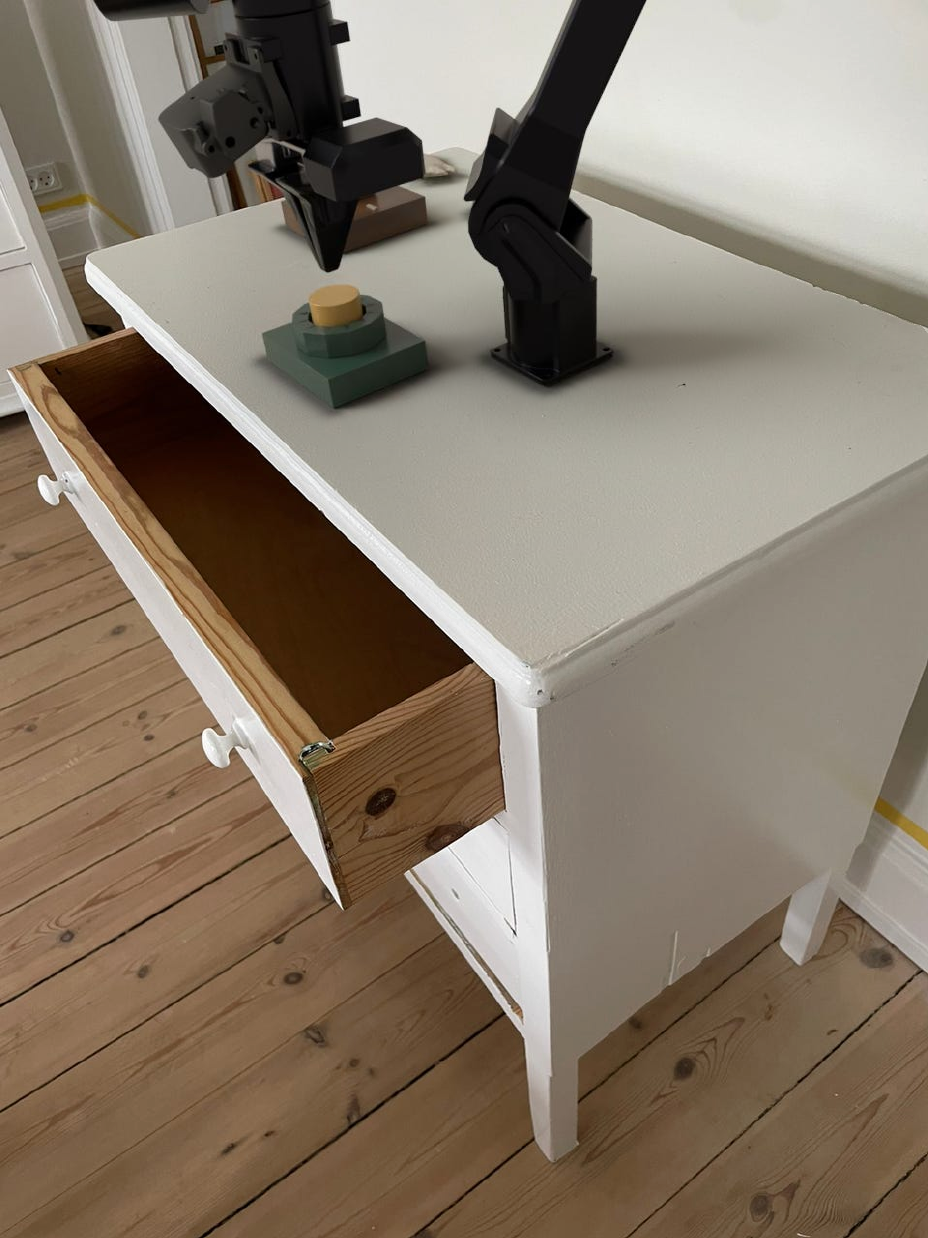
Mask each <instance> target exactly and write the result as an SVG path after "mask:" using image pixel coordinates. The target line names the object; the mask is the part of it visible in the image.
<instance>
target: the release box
mask: <svg viewBox="0 0 928 1238" xmlns="http://www.w3.org/2000/svg"><path fill="white" fill-rule="evenodd" d="M360 299H361V305H362V311H363V317H362V318H360V319H359V320H357V321H354V322H351V323H349V324H346V325H341V326H333V327H327V326H319V325H314V323H313V319H312V314H311V309H310V304H309V302H305V303H304V304H302V305H301V306H300V307H299V308H297V309H296V310H295V311H294V312H293V313H292V316H291V322H288V323H286V324H285V323H284V324H282V325H280V326H277V327H274V328H271V329H269V330H266V331H264V332H261V336H262V341H263V346H264V350H265V354H266V357H267V361H268V362H270V363H271V364H273V365H274V366H275V367H276V368H277V369H279V370H281V371H282V372H283V373H285V374H286V375H288V376H289V377H290V378H292V379H293V380H294V381H296V383H299V385H301V386H302V387H304V388H305V389H307V390H308V391H309V392H311V393H312V394H313V395H315V396H316V397H317V398H319V399H320V400H322V401H323V402H324V403H326V404H327V405H328V406H330V408H332V409H335V408H338V407H340V406H343V405H346V404H348V403H350V402H352V401H355V400H357V399H360V398H362V397H365V396H367V395H369V394H372V393H374V392H376V391H379V390H382V389H383V388H386V387H388V386H391V385H394V384H396V383H398V382H401V381H403V380H405V379H408V378H410V377H412V376H414V375H417V374H420V373H423V372H424V371H427V370H429V361H428V352H427V344H426V343H427V342H426V340H425V339H423V338H422V337H419V336H418V335H416V334H414V333H413V332H412V331H409V330H408V329H406V328H404V327H402V326H400V325H398V324H397V323H395V322H393V321H392V320H390V319H388V318H387V317H385V312H384V307H383V302H381V301H380V300H378V299H376V298H374V297H373V296H371V295H367V294H360Z"/></svg>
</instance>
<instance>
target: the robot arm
mask: <svg viewBox="0 0 928 1238" xmlns="http://www.w3.org/2000/svg"><path fill="white" fill-rule="evenodd" d="M92 1H93V3H94V4H95V6H96V8H97V9H98V11H99V12H100V14H102V15H103V17H104V18H105V19H106V20H109V22H125V21H136V20H137V21H139V20H149V19H158V18H159V19H160V18H172V17H173V18H174V17H183V16H185V17H186V16H195V15H205V14H206V13H208V11H209V9H210V6H211V1H212V0H92ZM229 1H230V6H231V10H232V15H233V21H234V26H235V29H234V30H230V31H225V32H224V36H225V39H224V40H222V49H223V52H224V57H225V65H224V66H223V67H221V68H219V69H218V70H217V71H215V72H214V73H212V74H211V75H208V76H207V77H206V76H205V78H204V79H202V80H201V81H199V82H197V84H195V85H194V86H193V87H191V88H190V89H189V90H188V91H187V92H185V93H184V94H182V95H181V96H180V97H178V98H177V99H176V100H175V101H174V102H173V103H172V102H171V104H169V105H168V106H167V107H166V108H164V109H163V110H162V111H161V112H160V113H159V115H158V117H157V121H158V122H159V124H160V125H161V127H162V129H163V130H164V132H165V133H166V135H167V136H168V138H169V140H170V141H171V142H172V144H173V146H174V147H175V149H176V150H177V152H178V154H179V155H180V157H181V159H182V160H183V162H184V163H185V164H186V166H187V168H189V169H191V170H196V171H198V172H200V173H201V174H203V175H204V176H205V177H206V178H209V179H216V178H219V177H222V176H223V175H225V174H227V173H228V172H229V171H230V170H232V169H233V168H234V166H235V163H236V161H238V159H240V158H242V157H243V156H244V155H245V154H247V153H248V152H249V151H251V150H252V149H253V148H254V149H255V153H256V158H257V160H255V161H252V162H249V163H248V164H247V168H248V169H249V170H250V171H251V172H252V173H254V174H255V175H257V176H259V177H261V178H262V179H264V180H265V181H266V182H268V183H270V184H271V185H273V186H274V187H276V188H277V189H278V190H279V191H280V193H281V194H282V195H283V197H284V200H286V201H287V203H288V205H289V207H290V209H291V211H292V213H293V215H294V217H295V219H296V221H297V223H298V225H299V227H300V229H301V231H302V233H303V235H304V237H303V238H304V239H305V241H306V244H307V245H308V247H309V249H310V251H311V253H312V255H313V257H314V259H315V261H316V263H317V266H318V267H319V269H320V270H321V271H323V272H325V273H327V274H329V273H332V272H335V271H337V270H339V269H340V267H341V264H342V259H343V256H344V253H345V252H344V249H345V246H346V242H347V239H348V235H349V232H350V228H351V225H352V221H353V218H354V215H355V211H356V208H357V205H358V202H359V200H360V198H362V197H365V196H368V195H371V194H374V193H377V192H381V191H384V190H387V189H390V188H393V187H396V186H402V185H405V184H408V183H411V182H414V181H417V180H421V179H423V178H425V177H424V175H425V173H426V172H425V163H424V154H425V153H424V145H423V139H421V138H420V137H419V136H418V135H417V134H416V133H414V131H412V129H410V128H409V127H407V126H404V125H401V124H398V123H395V122H392V121H389V120H386V119H383V118H380V117H373V118H370V119H369V118H368V119H366V120H362V121H359V122H356V123H351V124H349V125H344V122H347V121H350V120H354V119H357V118H361V117H362V111H361V104H360V99H359V98H357V97H354V96H352V95H348V94H345V87H344V81H343V75H342V74H343V73H342V67H341V61H340V54H339V47H338V45H340V44H344V43H349V42H351V37H350V29H349V23H348V21H346V20H341V19H336V18H334V14H333V9H332V2H331V0H229ZM646 3H647V0H571V3H570V5H569V7H568V10H567V12H566V13H565V17H564V20H563V22H562V24H561V27H560V29H559V31H558V34H557V35H556V38H555V41H554V43H553V45H552V48H551V50H550V52H549V56H548V57H547V60H546V62H545V65H544V67H543V69H542V72H541V73H540V76H539V79H538V81H537V84H536V86H535V88H534V89H533V91H532V93H531V95H530V96H529V98H528V99H527V101H526V102H525V103H524V105H523V106H522V107H521V109H520V111H518V113H517V114H516V116H515V117H513V116H511V115H510V114H509V113H507V112H506V111H505V110H503V109H502V108H500V107H496V108H495V110H494V114H493V118H492V122H491V126H490V130H489V133H488V137H487V140H486V145H485V147H484V149H483V151H482V153H481V154H480V155H479V156H478V157H477V158H476V159H475V160H474V161H473V163H472V167H471V170H470V173H469V177H468V180H467V184H466V188H465V191H464V195H463V201H464V202H472V203H471V205H470V206H471V207H470V210H469V215H468V219H467V234H468V235H469V238H470V240H471V243H472V244H473V247H474V249H475V251H476V252H477V253H478V254H479V255H480V257H481V258H482V259H483V260H485V262H488V263H490V264H491V265H492V266H493V267H495V268H496V269H497V271H498V274H499V276H500V277H501V280H502V282H503V285H502V304H503V305H502V307H503V319H504V322H503V323H504V337H505V340H506V341H507V342H505V343H502V344H499V345H497V346H494V347H493V348H490V357H491V358H492V359H493V360H494V361H495V360H496V361H497V362H498V363H501V364H502V365H505V366H506V367H508V368H510V369H512V370H514V371H515V372H517V373H518V374H521V375H522V376H524V377H526V378H528V379H530V380H531V381H533V382H536V383H537V384H539V385H540V386H551V385H553V384H555V383H557V382H559V381H561V380H564V379H566V378H568V377H570V376H573V375H576V374H577V373H579V372H582V371H584V370H586V369H589V368H591V367H592V366H595V365H597V364H600V363H601V362H603V361H606V360H608V359H611V358H612V357H614V348H613V347H612V346H610V345H608V344H606V343H603V342H601V341H599V340H598V277H597V276H595V275H592V272H593V217H592V216H591V215H589V214H588V213H587V212H586V211H585V210H584V209H583V208H582V207H581V206H580V205H579V204H578V203H576V201H575V200H574V199H572V198H571V196H570V195H571V192H572V187H573V184H574V180H575V176H576V171H577V167H578V163H579V159H580V156H581V152H582V148H583V143H584V139H585V136H586V133H587V129H588V128H589V125H590V123H591V121H592V119H593V116H594V115H595V112H596V109H597V108H598V106H599V104H600V101H601V99H602V97H603V95H604V93H605V91H606V89H607V86H608V84H609V83H610V80H611V78H612V77H613V73H614V72H615V69H616V67H617V66H618V65H617V64H618V63H619V60H620V58H621V56H622V54H623V53H624V50H625V48H626V46H627V43H628V41H629V39H630V38H631V35H632V33H633V31H634V28H635V26H636V24H637V23H638V20H639V18H640V15H641V14H642V11H643V9H644V7H645V5H646ZM423 153H424V154H423Z"/></svg>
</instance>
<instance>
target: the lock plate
mask: <svg viewBox="0 0 928 1238" xmlns="http://www.w3.org/2000/svg"><path fill="white" fill-rule="evenodd" d="M426 199H427V198H426V196H424V195H422V194H420V193H417V192H415V191H412V190H410V189H408V188H405V187H402V186H401V185H399V186H396V187H393V188H390V189H387V190H384V191H381V192H377V193H376V194H374V195H371V196H367V197H364V198H361V199H360V200H359V202H358V205H357V208H356V211H355V215H354V218H353V221H352V225H351V228H350V232H349V235H348V239H347V242H346V246H345V249H344V253H347V252H350V251H353V250H356V249H358V248H361V247H365V246H367V245H370V244H373V243H376V242H379V241H382V240H384V239H385V240H386V239H387V238H391V237H393V236H396V235H400V234H402V233H405V232H407V231H411V230H413V229H417V228H419V227H423V226H425V225H428V224H429V219H428V209H427V201H426ZM280 204H281V209H282V214H283V218H284V223H285V228H286V229H288V230H290V231H292V232H293V233H295V234H297V235H299V236H301V237H303V238H305V237H304V235H303V233H302V231H301V229H300V227H299V225H298V223H297V221H296V219H295V217H294V215H293V213H292V211H291V209H290V207H289V205H288V203H287V201H286V199H284V200H282V201H280Z"/></svg>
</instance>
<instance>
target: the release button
mask: <svg viewBox="0 0 928 1238" xmlns="http://www.w3.org/2000/svg"><path fill="white" fill-rule="evenodd" d="M360 295H361V293H360V290H359V288H357V287H356V286H353V285H349V284H331V285H327V286H323V287H320V288H318V289H316V290H313V292H312V293H310V295H309V296H308V303H309V304H310V309H311V314H312V319H313V323H314V325H319V326H327V327H333V326H341V325H346V324H349V323H351V322H354V321H357V320H359V319H360V318H362V317H363V311H362V305H361V299H360Z"/></svg>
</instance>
